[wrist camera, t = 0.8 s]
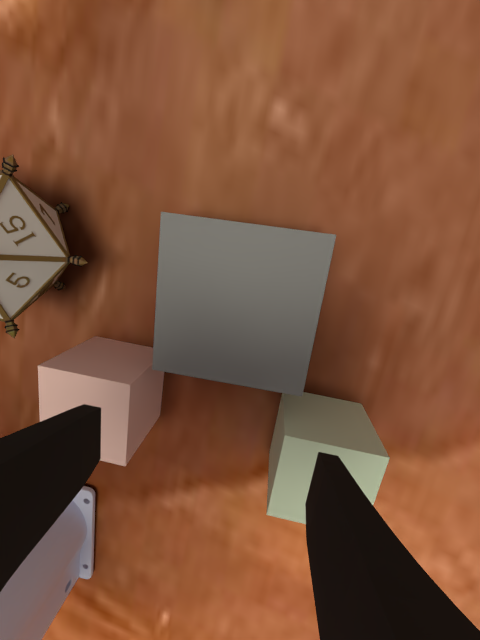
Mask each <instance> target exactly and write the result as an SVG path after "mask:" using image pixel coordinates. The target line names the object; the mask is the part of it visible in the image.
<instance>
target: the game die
mask: <svg viewBox="0 0 480 640" xmlns="http://www.w3.org/2000/svg"><path fill="white" fill-rule="evenodd" d="M17 167H19V165H17V163H16V161H15V158H14V156H13V155H11V156H9V157H6V158H3V163H2V168H3V170H0V321H4V322H5V323H6V326H5V328H6V333H8V334H9V335H11V336H12V337H13V338H15V336H16V334H17V331H18V330H19V329H18V328H17V326H18V325H16V324H15V323H14V319H15V318H16V317H18V316H19V315H20V314H21V313H22V312H23V311H24V310H26V309H27V308H28V307H29V306H30V305H31V304H32V303H34V302H35V301H36V300H37V299H38V298H39V297H40V296H42V295H43V294H44V293H45V292H46V291H47V290H48V289H50V288H51V287H52V286H53V285H54V287H55V288H57V289H58V290H61V289H66V288H65V284H64V283H62V282H60V281H57V280H58V279H59V277H60V276H61V274H62V273H63V272H64V270H65V269H66V267H67V266H68V265H69V263H72V264H73V265H78V266H80V267H81V266H82V265H84V264H87V263H88V262H86V261H85V260H84V259H83V258H82V256H80V257H79V256H77V255H75V256H70V253H69V250H68V246H67V243H66V239H65V236H64V232H63V229H62V225H61V222H60V218H59V215H58V214H59V213H64V212H68V211H67V210H68V207H69V205H68V204H63V203H62V202H61V203H60V204H57V207H56V208H54V207H53V206H51V205H50V204H49V203H47V202H46V201H45V200H44V199H42V198H41V197H40V196H38V195H37V194H36V193H35V192H33V191H32V190H31V189H29V188H28V187H27V186H26V185H24V184H23V183H22V182H20V181H19V180H18V179H17V178H15V177H14V176H13V175H12V174H13V173H14V172H16V171H17V170H16V168H17Z"/></svg>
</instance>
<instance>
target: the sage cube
mask: <svg viewBox="0 0 480 640" xmlns="http://www.w3.org/2000/svg"><path fill="white" fill-rule="evenodd" d="M318 452H322V453H327V454H332V455H337V456H339V458H340V459H341V461H342V462H343V463H344V465H345V466H346V468H347V469H348V471H349V472H350V474H351V475H352V477H353V478H354V479H355V481H356V482H357V484H358V485H359V487H360V488H361V490H362V491H363V492H364V494H365V495H366V497H367V498H368V499H369V501H370V502H371V504H372V505H373V504H374V501H375V498H376V495H377V493H378V490H379V487H380V484H381V481H382V478H383V476H384V473H385V470H386V467H387V464H388V461H389V456H388V454H387V452H386V450H385V448H384V446H383V444H382V442H381V440H380V438H379V436H378V434H377V433H376V431H375V429H374V427H373V425H372V423H371V421H370V419H369V417H368V415H367V413H366V411H365V410H364V408H363V406H362V404H361V403H356V402H351V401H346V400H341V399H336V398H331V397H326V396H321V395H316V394H311V393H306V392H303V395H302V397H301V396H296V395H290V394H285V393H282V396H281V401H280V405H279V410H278V414H277V419H276V424H275V428H274V433H273V437H272V442H271V447H270V451H269V472H268V495H267V515H269V516H274V517H278V518H282V519H286V520H290V521H295V522H299V523H303V524H306V507H305V503H306V499H307V495H308V491H309V487H310V483H311V479H312V475H313V471H314V467H315V463H316V459H317V455H318Z"/></svg>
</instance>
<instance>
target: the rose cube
mask: <svg viewBox="0 0 480 640" xmlns="http://www.w3.org/2000/svg"><path fill="white" fill-rule="evenodd" d="M152 363H153V348H152V347H147V346H142V345H137V344H132V343H127V342H122V341H117V340H112V339H107V338H102V337H97V336H95V337H93V338H91V339H89V340H87V341H85V342H83V343H81V344H79V345H77V346H75V347H73V348H71V349H69V350H67V351H65V352H63V353H61V354H59V355H57V356H55V357H54V358H52V359H50V360H48V361H46V362H44V363H42V364H40V365H38V382H39V411H40V422H41V421H43V420H46V419H48V418H50V417H53V416H55V415H58V414H60V413H62V412H65V411H67V410H70V409H72V408H75V407H78V406H80V405H83V404H86V405H91V406H96V407H101V459H100V460H101V461H105V462H109V463H113V464H118V465H122V466H126V465H127V463H128V462H129V460H130V459H131V457H132V456H133V455H134V453H135V452H136V450H137V449H138V447H139V446H140V444H141V443H142V441H143V440H144V438H145V437H146V435H147V434H148V433H149V431H150V430H151V428H152V427H153V425H154V424H155V422H156V421H157V419H158V418H159V416H160V412H161V401H162V390H163V380H164V372H163V371H157V370H152Z"/></svg>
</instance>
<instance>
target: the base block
mask: <svg viewBox="0 0 480 640" xmlns="http://www.w3.org/2000/svg"><path fill="white" fill-rule="evenodd" d="M335 238H336V235H333V234H326V233H318V232H311V231H303V230H295V229H288V228H280V227H273V226H265V225H257V224H250V223H242V222H235V221H227V220H220V219H212V218H204V217H197V216H189V215H182V214H174V213H166V212H161V221H160V239H159V256H158V274H157V292H156V309H155V327H154V345H153V363H152V370H157V371H163V372H168V373H174V374H180V375H185V376H191V377H196V378H202V379H207V380H213V381H218V382H224V383H229V384H235V385H240V386H246V387H252V388H257V389H263V390H268V391H274V392H279V393H285V394H290V395H296V396H301V397H302V395H303V390H304V386H305V381H306V376H307V371H308V367H309V362H310V357H311V352H312V348H313V343H314V338H315V333H316V329H317V324H318V319H319V314H320V310H321V305H322V300H323V295H324V291H325V286H326V281H327V276H328V272H329V267H330V262H331V257H332V253H333V248H334V243H335Z"/></svg>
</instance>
